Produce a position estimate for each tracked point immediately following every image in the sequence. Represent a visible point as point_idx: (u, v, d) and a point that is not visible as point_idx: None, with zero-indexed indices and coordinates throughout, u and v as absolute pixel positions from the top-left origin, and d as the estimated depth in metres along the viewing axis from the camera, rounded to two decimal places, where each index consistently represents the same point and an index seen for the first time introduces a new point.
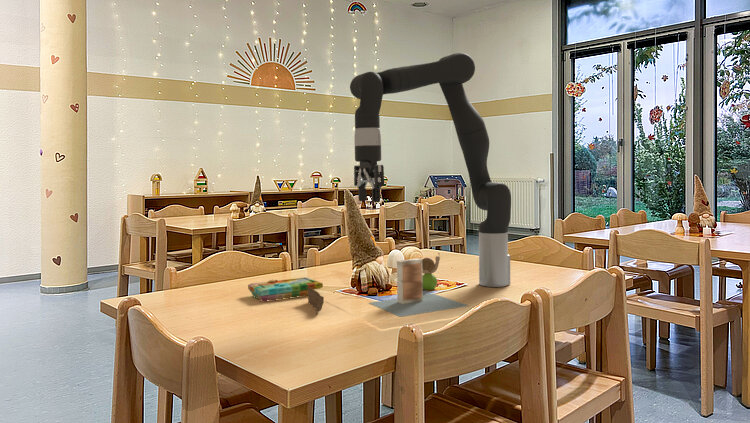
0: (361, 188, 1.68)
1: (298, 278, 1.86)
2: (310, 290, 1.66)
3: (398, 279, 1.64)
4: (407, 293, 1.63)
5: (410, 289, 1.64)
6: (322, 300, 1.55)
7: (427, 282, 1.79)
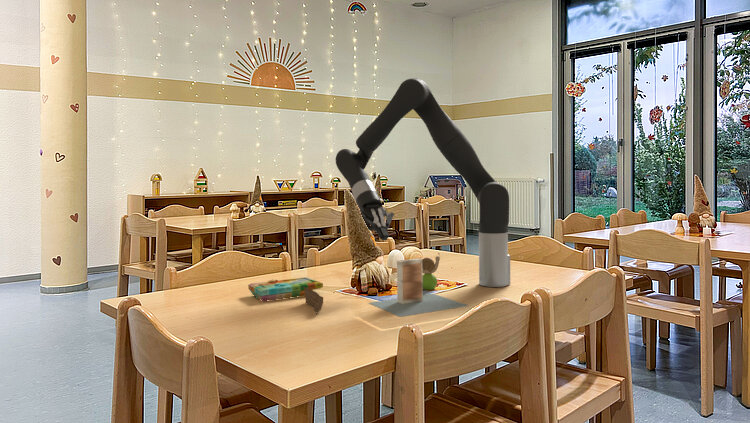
0: None
1: (298, 278, 1.86)
2: (308, 290, 1.65)
3: (398, 279, 1.64)
4: (407, 293, 1.63)
5: (410, 289, 1.64)
6: (322, 300, 1.55)
7: (427, 282, 1.79)
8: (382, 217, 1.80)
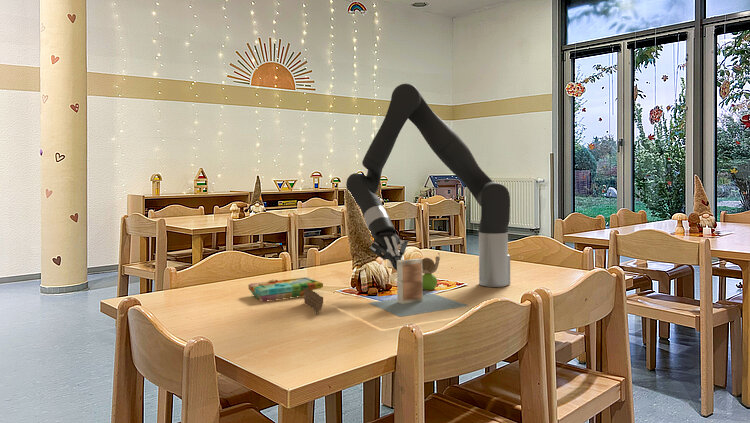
0: None
1: (298, 278, 1.86)
2: (307, 290, 1.65)
3: (398, 279, 1.64)
4: (407, 293, 1.63)
5: (410, 289, 1.64)
6: (321, 300, 1.55)
7: (427, 282, 1.79)
8: (396, 246, 1.73)
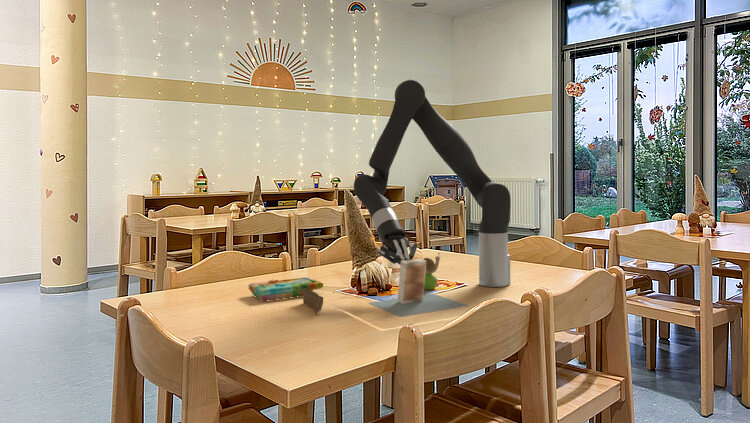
0: None
1: (298, 278, 1.86)
2: (306, 291, 1.65)
3: (400, 279, 1.63)
4: (408, 294, 1.63)
5: (411, 290, 1.63)
6: (321, 300, 1.55)
7: (427, 282, 1.79)
8: (405, 249, 1.68)
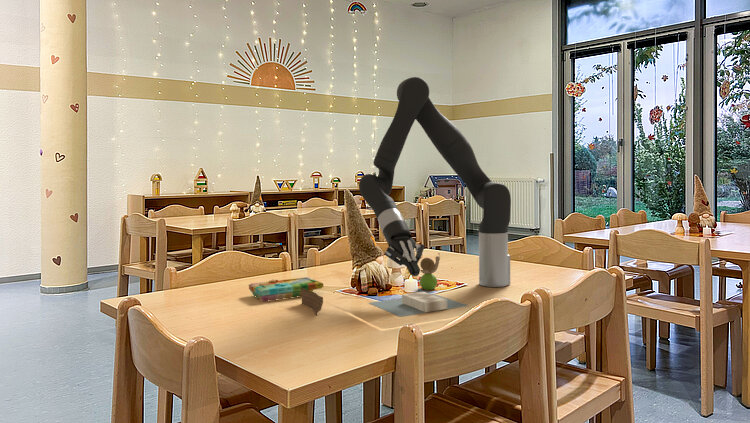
0: None
1: (299, 278, 1.86)
2: (304, 291, 1.65)
3: (414, 302, 1.57)
4: None
5: None
6: (321, 300, 1.55)
7: (427, 282, 1.79)
8: (412, 250, 1.65)
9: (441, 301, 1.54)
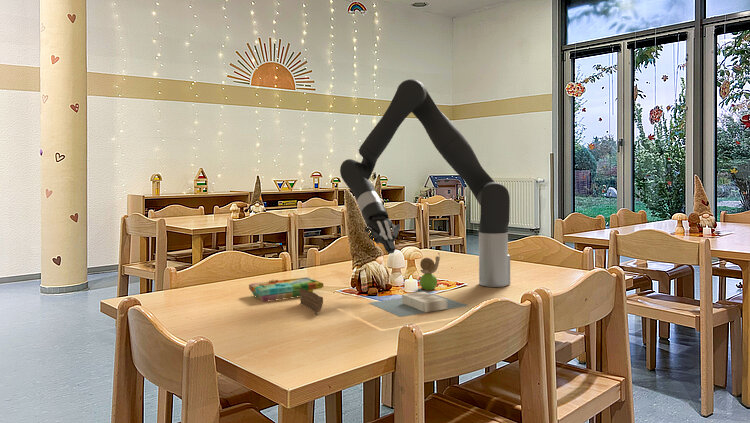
0: None
1: (299, 278, 1.86)
2: (303, 291, 1.65)
3: (414, 302, 1.57)
4: None
5: None
6: (321, 300, 1.54)
7: (427, 282, 1.79)
8: (388, 229, 1.77)
9: (441, 301, 1.54)
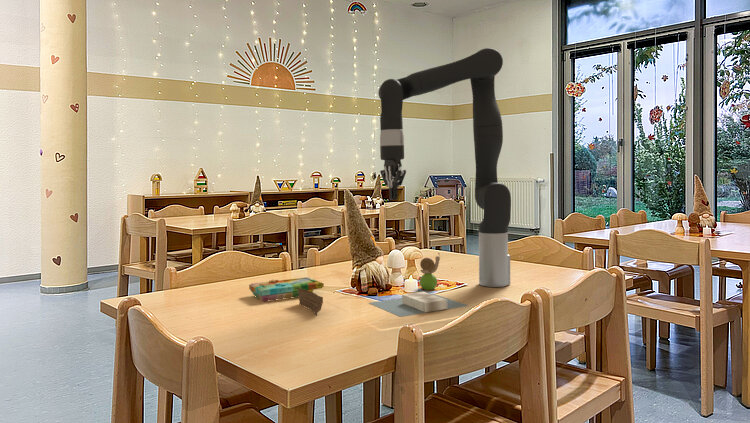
0: None
1: (299, 278, 1.86)
2: (302, 291, 1.65)
3: (414, 302, 1.57)
4: None
5: None
6: (321, 300, 1.54)
7: (427, 282, 1.79)
8: None
9: (441, 301, 1.54)
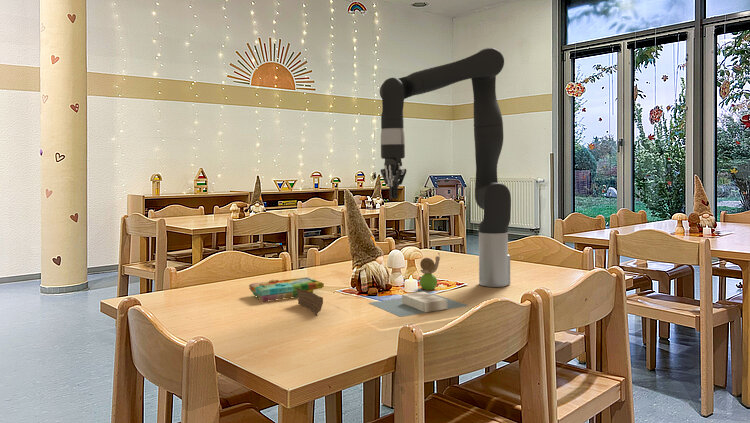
0: None
1: (299, 278, 1.86)
2: (301, 291, 1.64)
3: (414, 302, 1.57)
4: None
5: None
6: (321, 300, 1.54)
7: (427, 282, 1.79)
8: None
9: (441, 301, 1.54)
